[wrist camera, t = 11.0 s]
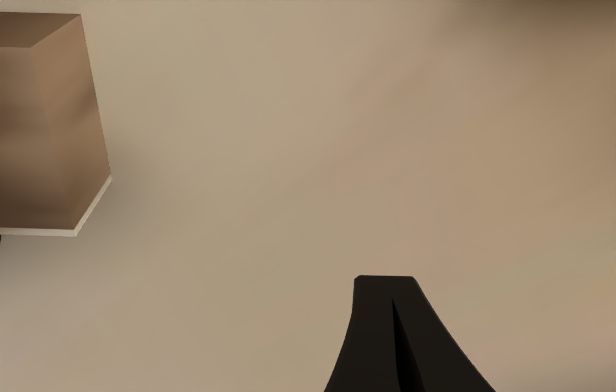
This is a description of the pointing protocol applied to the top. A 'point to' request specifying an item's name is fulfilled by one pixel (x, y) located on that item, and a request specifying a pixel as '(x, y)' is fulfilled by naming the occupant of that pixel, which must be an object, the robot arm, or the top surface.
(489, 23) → the top surface
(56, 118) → the walnut block
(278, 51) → the top surface
